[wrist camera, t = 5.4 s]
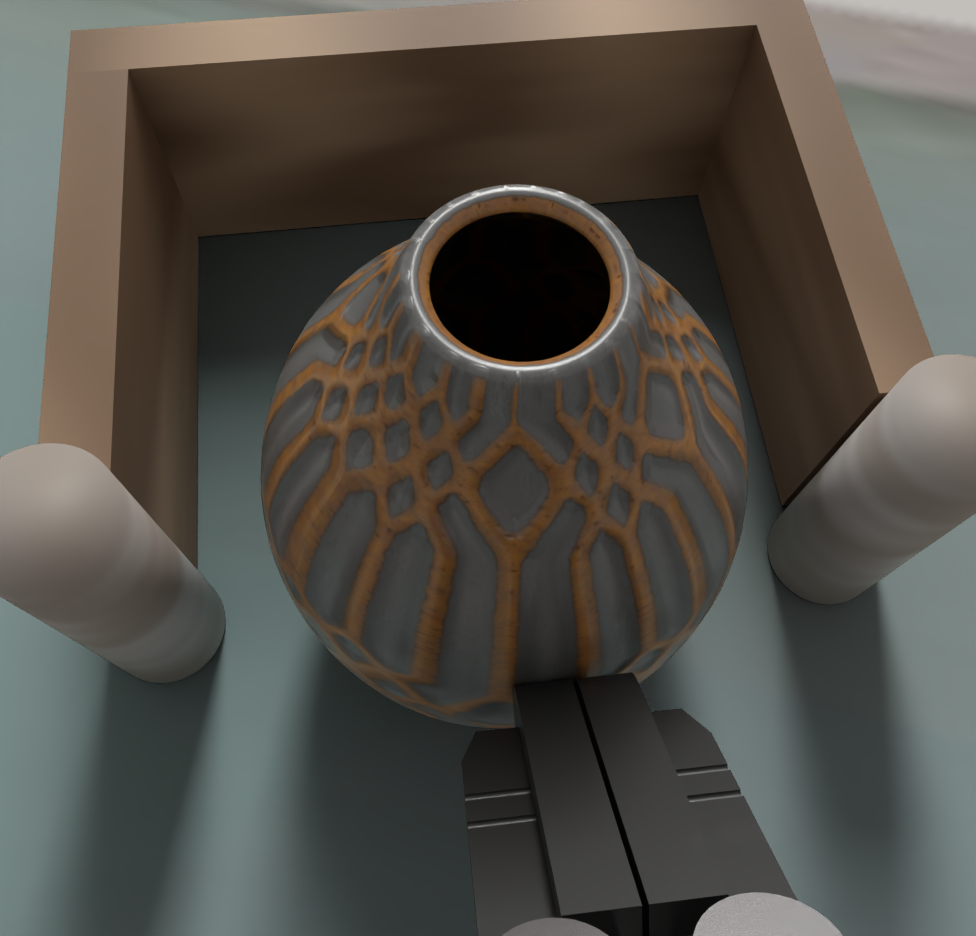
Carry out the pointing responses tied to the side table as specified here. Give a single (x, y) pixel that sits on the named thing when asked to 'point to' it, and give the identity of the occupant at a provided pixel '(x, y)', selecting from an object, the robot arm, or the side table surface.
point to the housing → (417, 194)
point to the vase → (503, 460)
